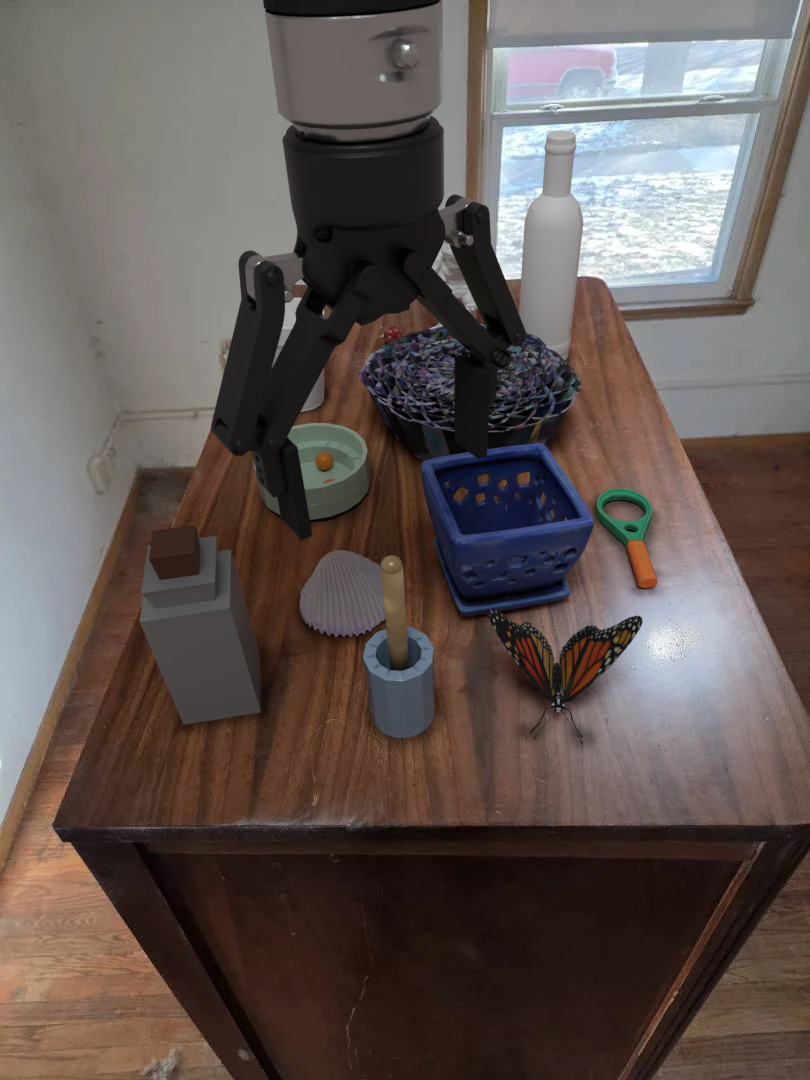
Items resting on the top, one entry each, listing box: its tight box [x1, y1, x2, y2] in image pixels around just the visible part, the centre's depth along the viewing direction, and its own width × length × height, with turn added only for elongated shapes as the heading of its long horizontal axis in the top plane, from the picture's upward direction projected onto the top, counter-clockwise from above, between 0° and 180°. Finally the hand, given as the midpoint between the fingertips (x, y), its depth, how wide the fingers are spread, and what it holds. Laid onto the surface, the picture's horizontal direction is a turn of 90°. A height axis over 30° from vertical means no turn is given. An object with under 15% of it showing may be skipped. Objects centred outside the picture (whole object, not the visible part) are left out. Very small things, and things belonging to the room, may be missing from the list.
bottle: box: [518, 129, 584, 361], centre depth 101 cm, size 8×8×30 cm
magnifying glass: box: [595, 487, 659, 589], centre depth 79 cm, size 15×6×2 cm, turn 179°
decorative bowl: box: [358, 324, 582, 462], centre depth 94 cm, size 26×28×10 cm
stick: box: [380, 554, 409, 671], centre depth 58 cm, size 2×2×18 cm
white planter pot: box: [272, 297, 326, 413], centre depth 100 cm, size 10×9×13 cm
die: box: [382, 325, 403, 344], centre depth 114 cm, size 3×3×3 cm
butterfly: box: [486, 608, 644, 745], centre depth 61 cm, size 12×10×10 cm
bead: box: [315, 452, 333, 470], centre depth 90 cm, size 2×2×2 cm
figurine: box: [429, 241, 485, 329], centre depth 113 cm, size 11×7×15 cm, turn 90°
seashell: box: [298, 549, 386, 638], centre depth 74 cm, size 10×6×10 cm
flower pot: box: [420, 443, 595, 617], centre depth 72 cm, size 13×13×12 cm
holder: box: [362, 626, 436, 739], centre depth 62 cm, size 6×6×8 cm
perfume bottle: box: [139, 524, 262, 726], centre depth 61 cm, size 7×7×18 cm
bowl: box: [252, 422, 371, 521], centre depth 87 cm, size 13×13×5 cm
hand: (388, 485), depth 48 cm, fingers open, 13 cm apart
